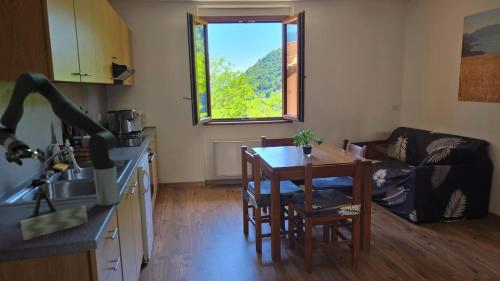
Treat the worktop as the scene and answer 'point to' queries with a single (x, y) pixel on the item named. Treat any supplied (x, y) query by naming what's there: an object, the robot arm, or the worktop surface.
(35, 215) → the phone stand
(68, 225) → the wall board
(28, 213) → the worktop surface
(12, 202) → the worktop surface
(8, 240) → the worktop surface
